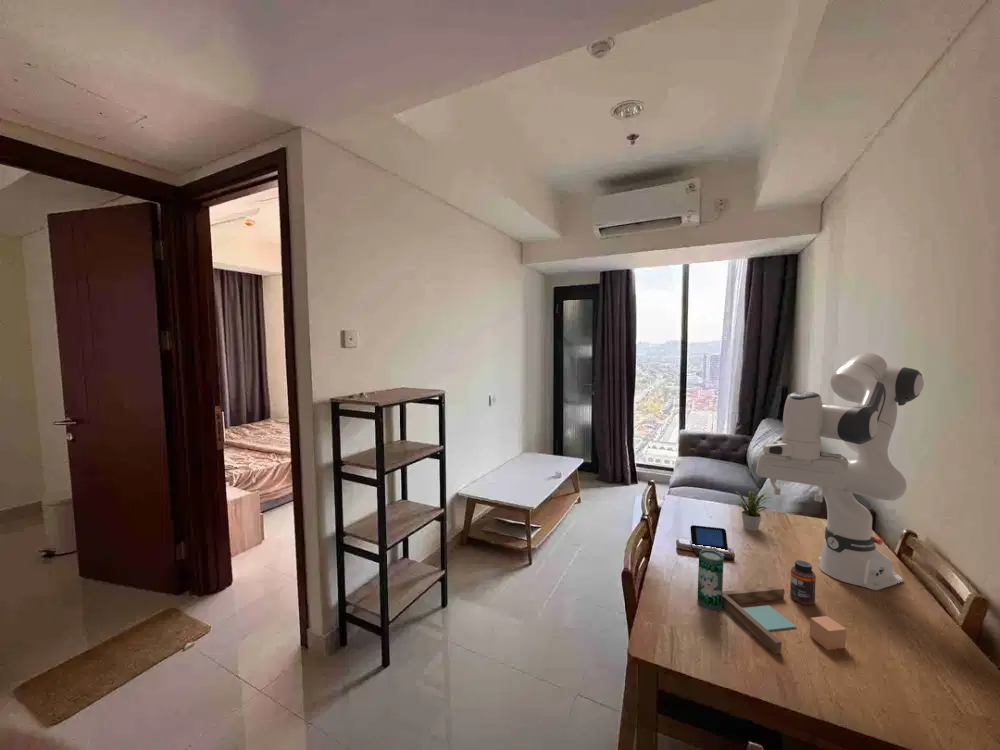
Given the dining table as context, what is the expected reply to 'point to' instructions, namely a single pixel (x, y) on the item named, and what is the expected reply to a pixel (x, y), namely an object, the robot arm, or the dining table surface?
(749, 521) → the house plant
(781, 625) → the pad
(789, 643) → the dining table surface
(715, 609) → the can
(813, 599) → the supplement bottle
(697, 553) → the handheld game console
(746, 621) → the wooden l-shaped wall
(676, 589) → the dining table surface
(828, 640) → the cube
